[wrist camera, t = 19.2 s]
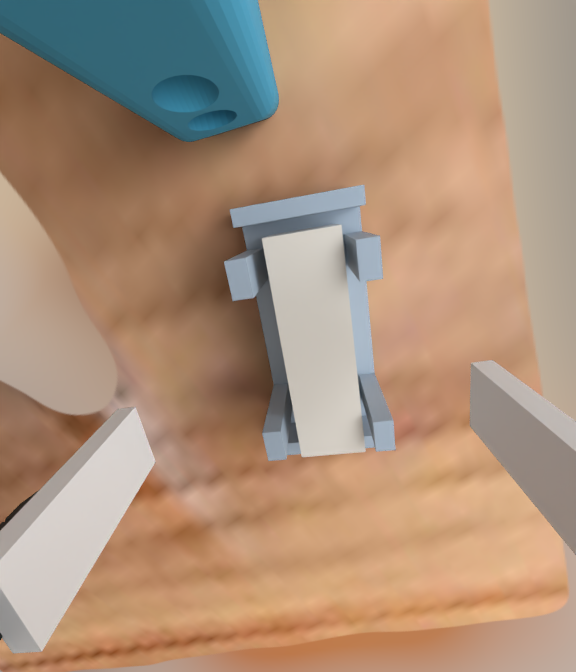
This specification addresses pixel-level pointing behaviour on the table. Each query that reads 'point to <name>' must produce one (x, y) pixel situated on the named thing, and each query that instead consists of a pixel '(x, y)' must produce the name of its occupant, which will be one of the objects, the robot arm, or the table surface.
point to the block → (158, 57)
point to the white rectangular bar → (317, 337)
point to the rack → (361, 266)
